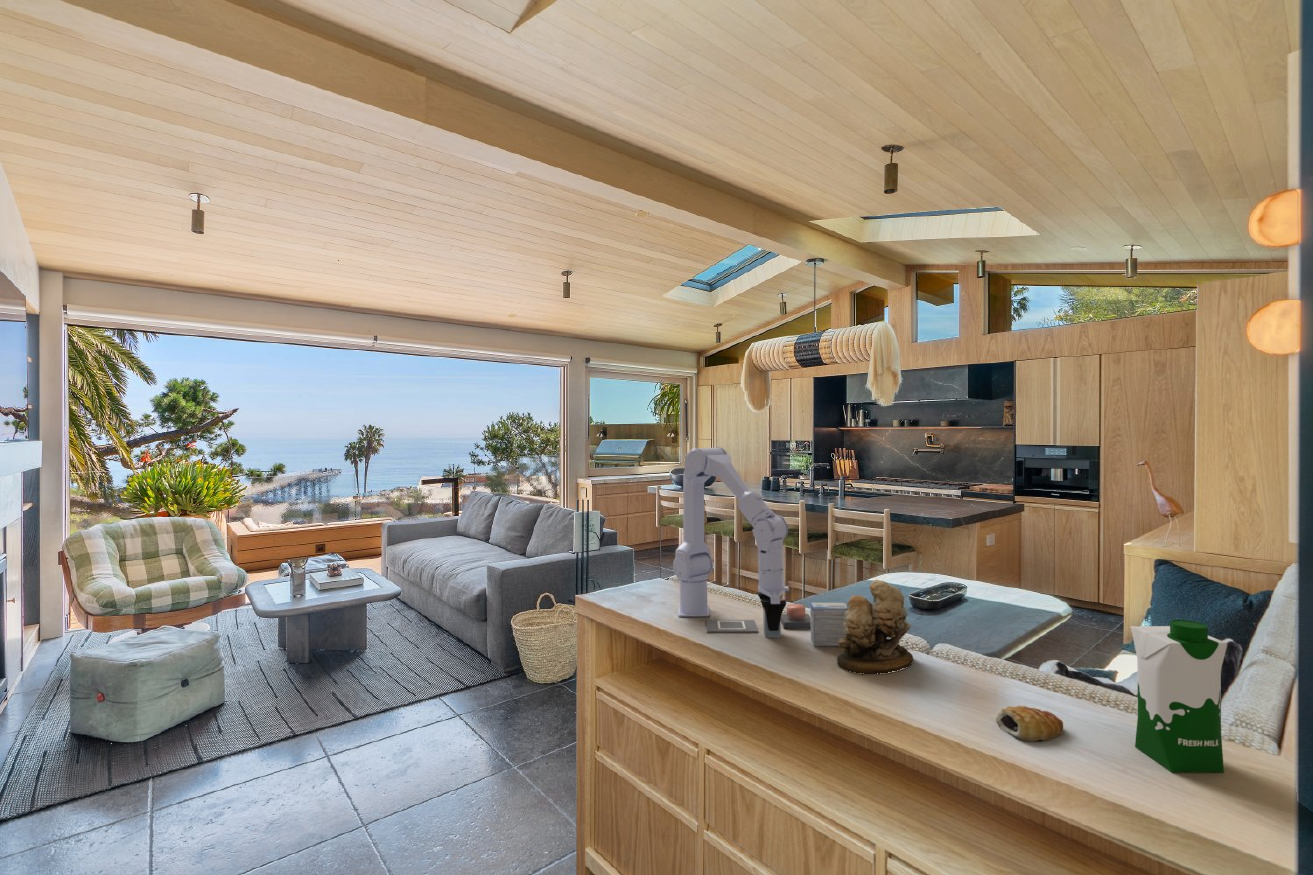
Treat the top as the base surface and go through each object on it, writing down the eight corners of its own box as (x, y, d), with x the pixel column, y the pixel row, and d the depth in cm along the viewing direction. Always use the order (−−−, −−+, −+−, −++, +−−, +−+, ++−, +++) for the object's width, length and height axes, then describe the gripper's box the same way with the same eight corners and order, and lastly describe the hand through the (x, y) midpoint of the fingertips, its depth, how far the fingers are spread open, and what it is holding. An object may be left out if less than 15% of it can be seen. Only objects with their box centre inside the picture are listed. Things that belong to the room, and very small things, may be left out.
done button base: (779, 619, 159) (779, 613, 159) (808, 619, 158) (808, 613, 158) (784, 628, 152) (784, 622, 152) (813, 628, 151) (813, 622, 151)
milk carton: (1170, 776, 86) (1169, 629, 85) (1123, 743, 95) (1122, 610, 94) (1237, 776, 85) (1236, 629, 85) (1183, 743, 94) (1182, 610, 94)
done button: (785, 612, 157) (785, 603, 157) (803, 612, 157) (803, 603, 157) (788, 617, 153) (788, 608, 153) (807, 617, 153) (806, 608, 153)
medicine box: (846, 640, 143) (845, 602, 143) (850, 647, 138) (849, 607, 138) (810, 640, 143) (809, 601, 143) (813, 646, 139) (812, 607, 139)
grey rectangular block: (763, 632, 149) (763, 598, 149) (778, 632, 149) (777, 598, 149) (765, 637, 146) (764, 602, 146) (780, 637, 146) (780, 602, 145)
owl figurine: (883, 646, 139) (883, 568, 139) (930, 663, 129) (930, 579, 129) (823, 661, 130) (822, 578, 130) (868, 681, 120) (868, 591, 120)
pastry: (1041, 719, 103) (1041, 696, 103) (1077, 739, 97) (1076, 714, 97) (991, 725, 101) (991, 702, 101) (1024, 746, 95) (1024, 721, 95)
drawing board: (706, 621, 159) (706, 619, 159) (754, 621, 158) (754, 619, 158) (707, 632, 150) (707, 630, 150) (758, 632, 149) (758, 630, 149)
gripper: (793, 575, 140) (794, 636, 140) (783, 561, 154) (784, 617, 154) (761, 575, 140) (762, 636, 140) (754, 562, 155) (755, 617, 155)
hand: (771, 626), depth 147 cm, fingers open, 5 cm apart
